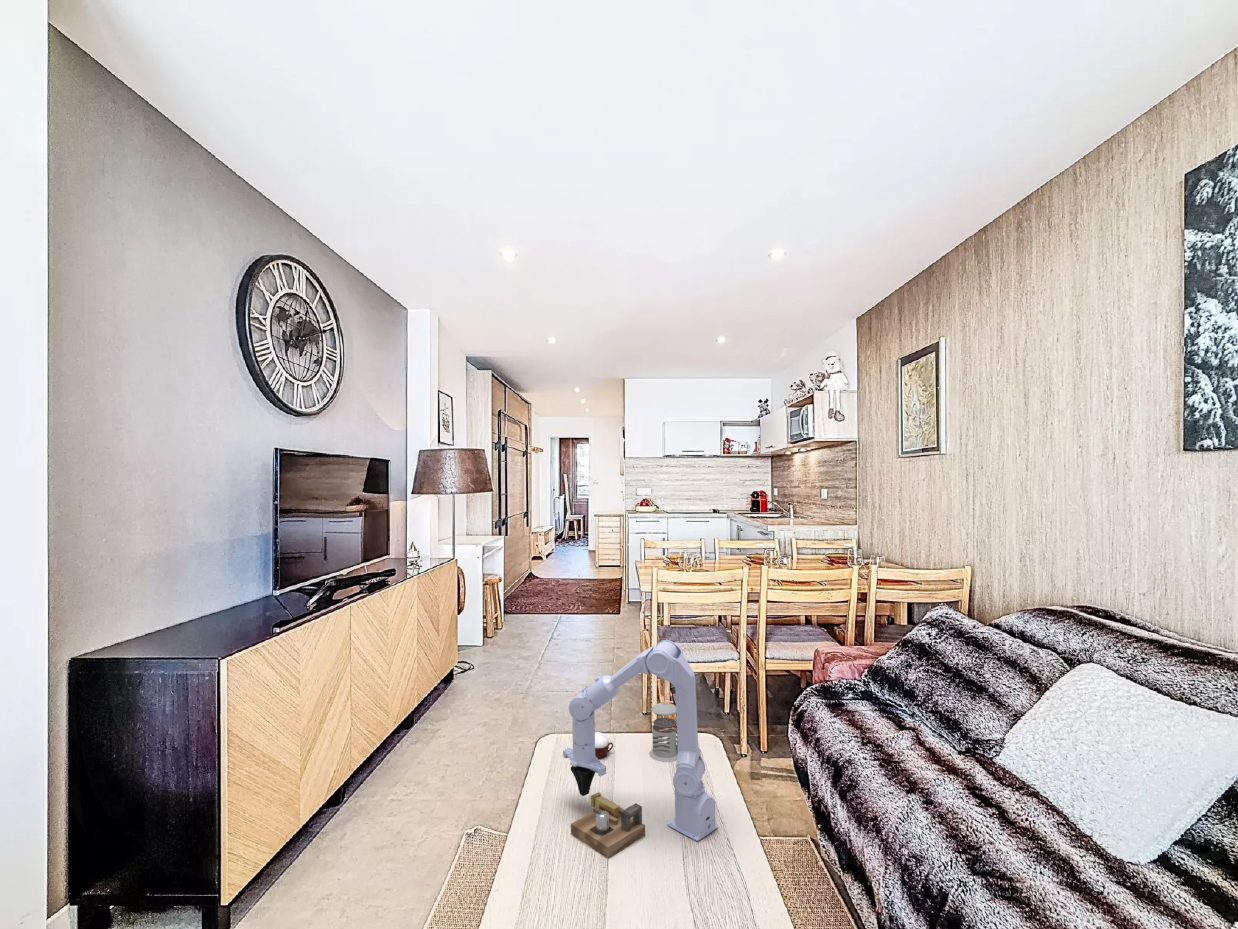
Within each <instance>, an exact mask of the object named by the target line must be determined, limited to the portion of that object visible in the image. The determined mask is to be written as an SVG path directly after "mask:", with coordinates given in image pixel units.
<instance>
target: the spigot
mask: <svg viewBox="0 0 1238 929" xmlns="http://www.w3.org/2000/svg"><path fill="white" fill-rule="evenodd" d="M607 833H609V813H608V812H607V811H598V812H597V813H596V834H597V835H598V836H600V837H602V836H604V835H606V834H607Z"/></svg>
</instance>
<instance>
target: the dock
mask: <svg viewBox="0 0 1238 929" xmlns="http://www.w3.org/2000/svg"><path fill="white" fill-rule="evenodd" d="M598 811H602V810H601V809H599V808H597V807H594V808H593V807H592V812H590V813H587V814H586V815H584V816H583V817H581V818H578V819H576V820H574V821H573V822H571V823H570V835H572V836H574V837H575V838H577V839H578V841H581V842H582V843H584V844H585V845H587V846H588V847H590V848H592V849H593V850H595V851H596V852H598V853H599V854H601V855H603V857H606V858H607V859H609V858H611V857H613V856H615V855H616V854H618V853H620V852H621V851H623V850H625V849H626V848H627V847H629V846H630V845H632V844H634V843H636V842H638V841H639V840H641V839H642V838H644V837H645V836H646V824H644V823H643V806H642V805H640V804H638V803H633V804H632V805H630V806H628V807H627V808H625V809H624V808H622V807H620V816H618V817H616V818H615V817H613V816H611V815H609V833H607V834H606V835H604V836H602V837H600V836H598V835H597V834H596V813H597V812H598Z"/></svg>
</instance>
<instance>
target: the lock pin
mask: <svg viewBox="0 0 1238 929" xmlns="http://www.w3.org/2000/svg"><path fill="white" fill-rule="evenodd" d="M590 807H591V808H592V809H593V808H594V807H597V808H599V809H601V810H602V811H607V812H608V813H609V815H611V816H613V817H615V818H616V817H618V816H620V808H621V805H619V804H617V803H616V802H613V801H612V800H610V799H608V798H606V797H605V796H603V795H602V793H601V792H599V791H598V792H596V793H594V794H592V795H590Z"/></svg>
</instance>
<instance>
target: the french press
mask: <svg viewBox="0 0 1238 929" xmlns="http://www.w3.org/2000/svg"><path fill="white" fill-rule="evenodd" d="M663 681H664V682H663V683H664V684H663V686H664V687H663V688H664V692H663V693H664V694H663V696H664V700H663V701H664V702H659V703H657V704H655V705H653V706H652V707H651V711H652V713H654V714H655V715H657V716H662V717H659V718H655V719H654V720H653V722H652V723H653V724H652V749H651V750H650V751H649V754H648V755H649V757H650V759H652V760H655V761H657V762H663V763H671V762H675V761H676V762H677V755H678V742H677V717H676V716H675V718H671V717H669V716H673V715H676V704H673V703H669V702H666V680H665V679H663ZM663 716H664V717H663ZM666 716H667V717H666ZM664 729H665V730H664ZM659 730H660V731H659ZM661 730H662V731H661Z"/></svg>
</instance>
